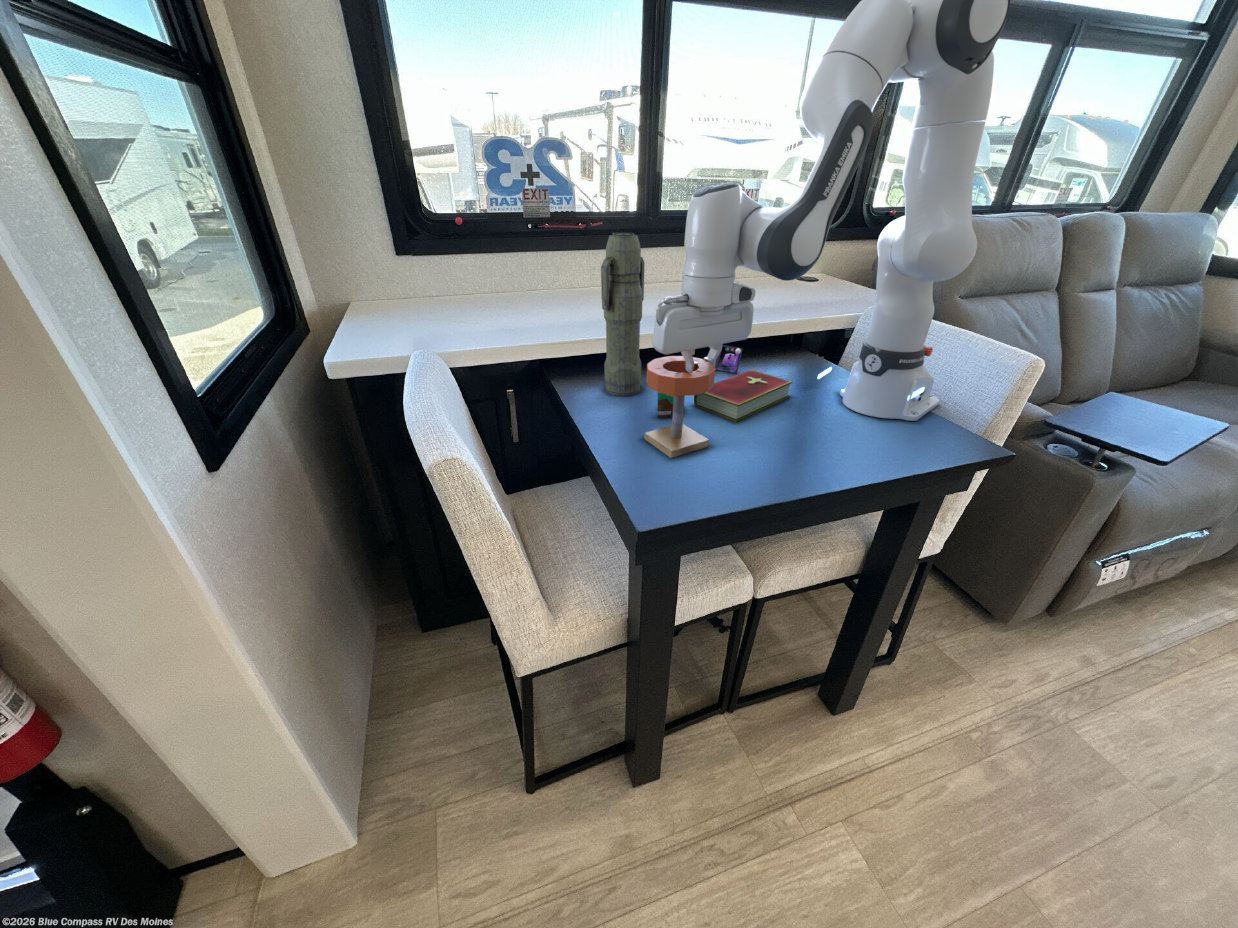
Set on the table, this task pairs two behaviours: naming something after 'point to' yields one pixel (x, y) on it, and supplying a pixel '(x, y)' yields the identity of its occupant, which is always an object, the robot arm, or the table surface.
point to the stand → (676, 434)
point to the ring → (679, 376)
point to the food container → (665, 405)
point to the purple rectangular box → (729, 358)
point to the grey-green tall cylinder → (622, 312)
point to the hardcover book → (743, 395)
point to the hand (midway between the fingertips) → (700, 369)
